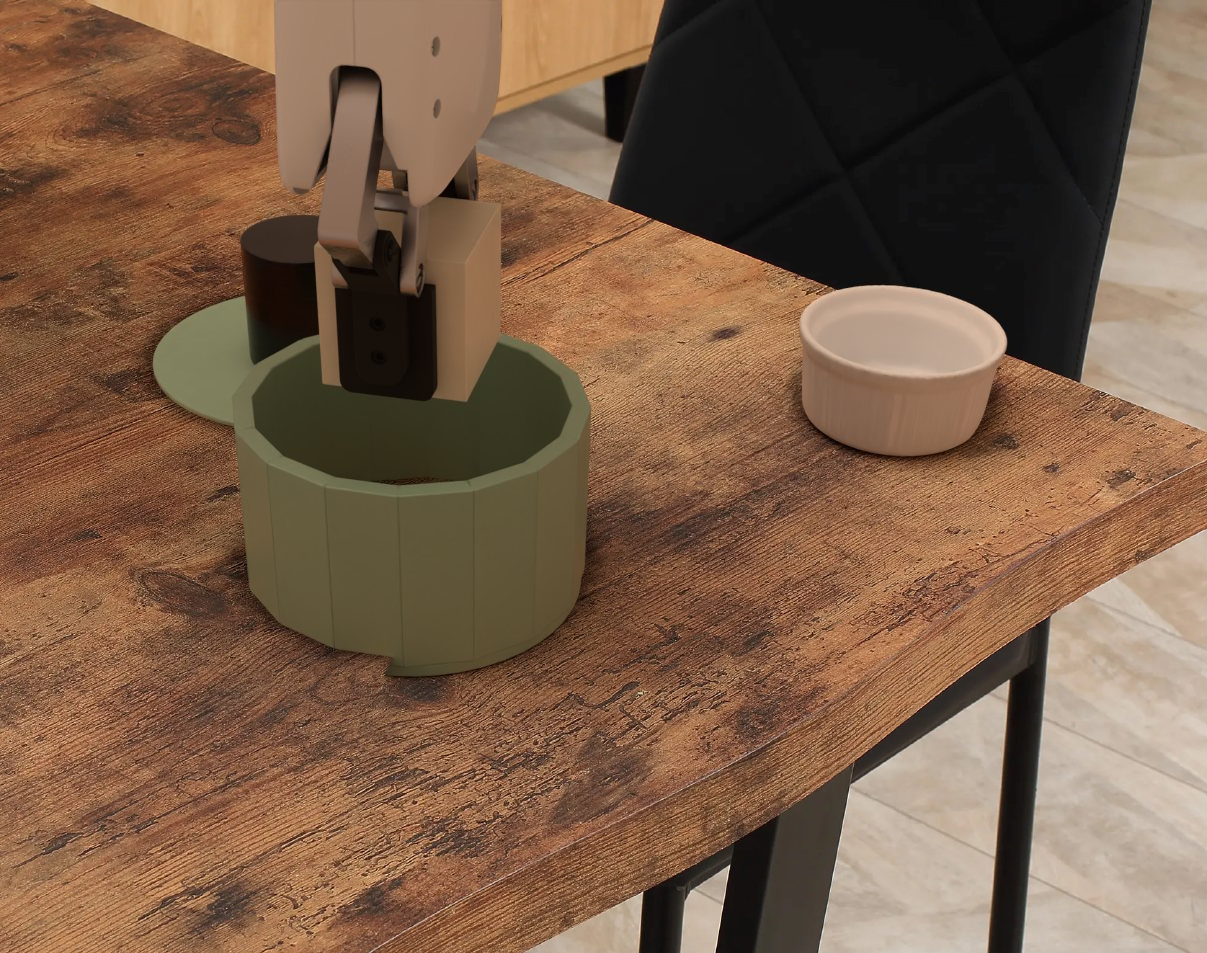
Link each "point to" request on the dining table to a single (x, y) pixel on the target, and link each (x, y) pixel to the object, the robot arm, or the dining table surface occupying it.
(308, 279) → the tin lid
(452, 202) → the tan cube
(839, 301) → the ramekin
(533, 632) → the tin
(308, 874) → the dining table surface
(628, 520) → the dining table surface
